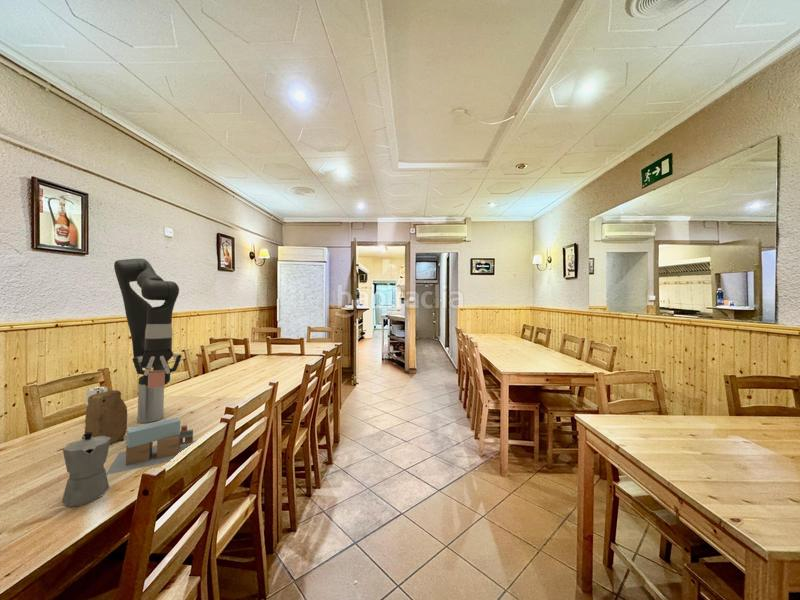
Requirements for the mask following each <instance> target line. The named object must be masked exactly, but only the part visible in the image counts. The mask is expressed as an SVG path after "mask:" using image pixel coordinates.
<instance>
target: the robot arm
mask: <svg viewBox="0 0 800 600" xmlns="http://www.w3.org/2000/svg"><path fill="white" fill-rule="evenodd" d="M113 264H114V265H113V267H114V272H115V277H116V280H117V282H118V287H119V289H120V292H121V296H122V300H123V306H124V311H125V315H126V316H125V318H126V321H127V325H128V328H129V333H130V338H131V343H132V353H133V354H132V356H133V358H132V363H133V366H134V368H135V370H136V374H138V375H142V376H139V378H138V385H137V388H138V390H137V393H138V395H137V416H136V417H137V423H139V424H149V423H153V422H158V421H161V420H163V418H164V405H165V403H164V402H165V400H164V399H165V386H163V387H153V388H148V373H149V372H150V371H156V370H165V372H166V374H165V385H168V383H170V382H171V373H174V372H176V371H177V369H178V367H179V364H180V361H181V359H182V356H183V355H182V354H177V353H174V352H173V350H172V349H173V334H174V333H173V311H174V307H175V304H176V302H177V299H178V296H179V293H180V288H179V285H178V284H177V282H175V281H171V280H164V279H163V278H162V277H160V276H159V275H158V274H157V273H156V271H155V270H154V268H153V266H152V265H151V264H150V262H149V261H148V260H147V259H145V258H127V259H119V260H115V261H114V263H113ZM132 282H136V284H137V285H138V287H139V288H140V293H141V296H142V297H141V296H140V295H139V294H138V293H137V292H136V291H135V290H134V289H133V288H132V286H131V285H130V283H132ZM146 300H148V301H164V302H163V303H162V305H158V306H152V305H151V304H150V303H149V302H148V301H146ZM172 358H173V360H174V363H173V366H172V367H170V364H169V361H170V360H171V359H172Z"/></svg>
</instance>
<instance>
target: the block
mask: <svg viewBox="0 0 800 600" xmlns="http://www.w3.org/2000/svg"><path fill="white" fill-rule="evenodd" d="M84 423H85V426H84V434H85V433H88V432H93V433H92V436H91V437H98V436H106V437H110V438H111V441H110V445H109V447H110V446H111V445H115V444H116V443H119V442H122V440H123V439H124V437H125V436H126V435H127V428H128V406H127V405H126V403H125V401H124V400H123V398H122V393H121V390H118V389H117V390H115V389H113V390H111V389H110V390H108V391H106V392H101V393H97V394H94V395H91V396H89V398H88V405H87V406H86V411H85V422H84Z"/></svg>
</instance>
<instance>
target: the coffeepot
mask: <svg viewBox="0 0 800 600" xmlns="http://www.w3.org/2000/svg"><path fill="white" fill-rule="evenodd" d="M92 433H93V432H88V433H85V432H84V434H83V435H82V437H81V439H78V440H77V441H73V442H71V443H69V444H66V446H65V447H64V448H62V451H63V452H62V453H63V457H64V463H65V466H66V467H65V468H66V472H67V473H69V477H68V479H67V481H66V485H65V488H64V492H63V497H62V500H61V503H62V504H63V506H64V507H66V508H75V506H76V507H80V505H81V506H84V505H87V504H89V503H90V504H91V503H93V502H94V501H97V500H99V499H101V498H103V495H105V494H106V492H107V491H108V489H109V488H110V485H109V480H108V475H106V473H107V469H106V468H105V466H104V465H105V463H106V462H107V458H108V453H109V449H110V446H111V445H110V441H111V438H110V437H106V436H98V437H91V436H92ZM109 445H110V446H109ZM92 501H93V502H92Z"/></svg>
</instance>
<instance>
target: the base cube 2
mask: <svg viewBox="0 0 800 600" xmlns="http://www.w3.org/2000/svg"><path fill="white" fill-rule="evenodd" d="M156 446H157V459H159V458H164V457H169V456H174V455H177V454H178V453H179V449H180V435H177V436H173V437H169V438H165V439H161V440H158V441H156Z"/></svg>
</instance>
